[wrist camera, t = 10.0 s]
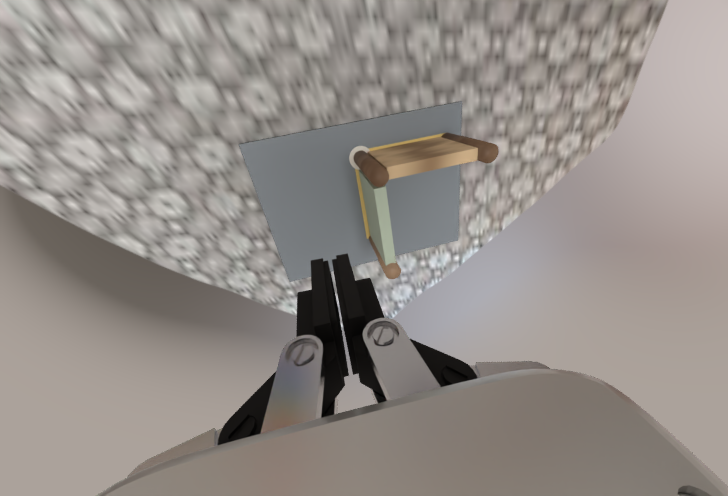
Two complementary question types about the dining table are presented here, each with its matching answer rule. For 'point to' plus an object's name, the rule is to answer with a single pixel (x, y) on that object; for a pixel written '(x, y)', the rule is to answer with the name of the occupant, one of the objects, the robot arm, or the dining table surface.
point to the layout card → (352, 189)
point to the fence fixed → (422, 157)
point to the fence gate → (380, 226)
